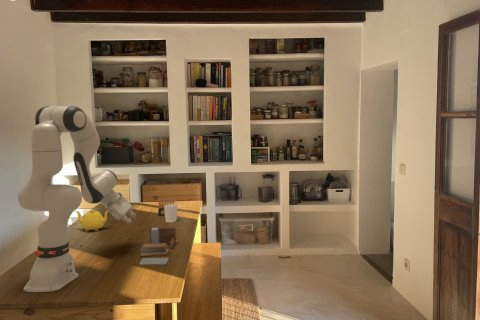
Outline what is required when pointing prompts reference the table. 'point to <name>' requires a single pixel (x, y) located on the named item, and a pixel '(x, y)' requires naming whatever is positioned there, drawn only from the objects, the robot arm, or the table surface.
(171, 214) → the white cup
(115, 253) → the table surface
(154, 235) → the batten
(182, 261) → the table surface
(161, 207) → the ammunition clip
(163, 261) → the felt mat
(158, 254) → the offcut stack
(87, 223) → the teapot
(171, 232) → the walnut rack
